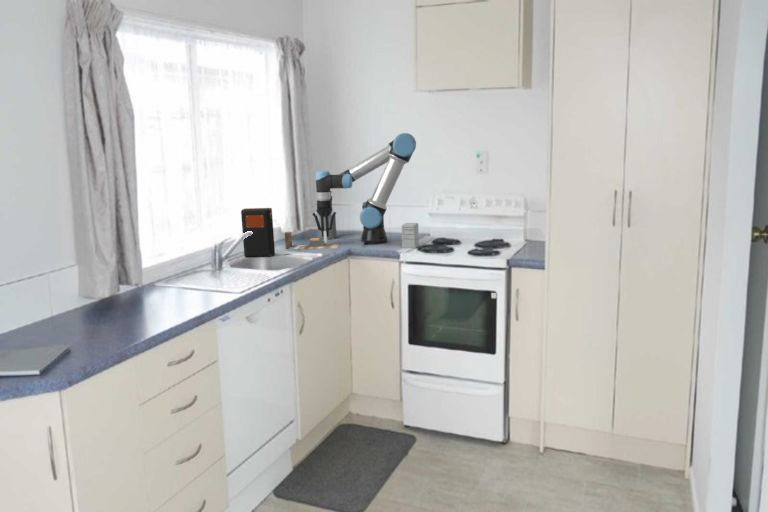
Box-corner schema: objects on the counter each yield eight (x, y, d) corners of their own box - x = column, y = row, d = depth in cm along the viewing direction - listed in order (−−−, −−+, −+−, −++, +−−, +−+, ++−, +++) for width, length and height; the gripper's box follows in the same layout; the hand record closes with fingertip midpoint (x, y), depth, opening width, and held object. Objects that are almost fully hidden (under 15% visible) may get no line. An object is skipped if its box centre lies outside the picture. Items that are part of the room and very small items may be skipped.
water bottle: (316, 239, 406) (313, 192, 401) (324, 236, 415) (321, 190, 410) (332, 239, 402) (329, 192, 397) (339, 237, 411) (336, 190, 406)
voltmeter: (276, 254, 365) (272, 207, 360) (272, 257, 357) (268, 209, 352) (247, 254, 367) (243, 207, 362) (242, 257, 358) (238, 210, 354)
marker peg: (292, 248, 380) (291, 232, 378) (291, 249, 377) (290, 233, 375) (286, 248, 380) (285, 232, 378) (285, 249, 377) (284, 233, 376)
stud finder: (325, 245, 379) (324, 237, 379) (324, 246, 376) (323, 239, 375) (310, 245, 380) (310, 238, 379) (309, 246, 376) (309, 239, 375)
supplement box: (406, 245, 375) (405, 222, 372) (419, 246, 372) (418, 222, 370) (401, 248, 368) (401, 224, 366) (415, 248, 365) (414, 224, 363)
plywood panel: (340, 246, 381) (340, 244, 380) (337, 250, 369) (337, 248, 369) (297, 247, 382) (297, 245, 382) (293, 251, 371) (293, 249, 370)
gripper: (336, 198, 376) (338, 241, 380) (313, 199, 377) (315, 241, 381) (334, 200, 368) (336, 243, 373) (310, 200, 369) (312, 244, 374)
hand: (325, 242), depth 377 cm, fingers closed
